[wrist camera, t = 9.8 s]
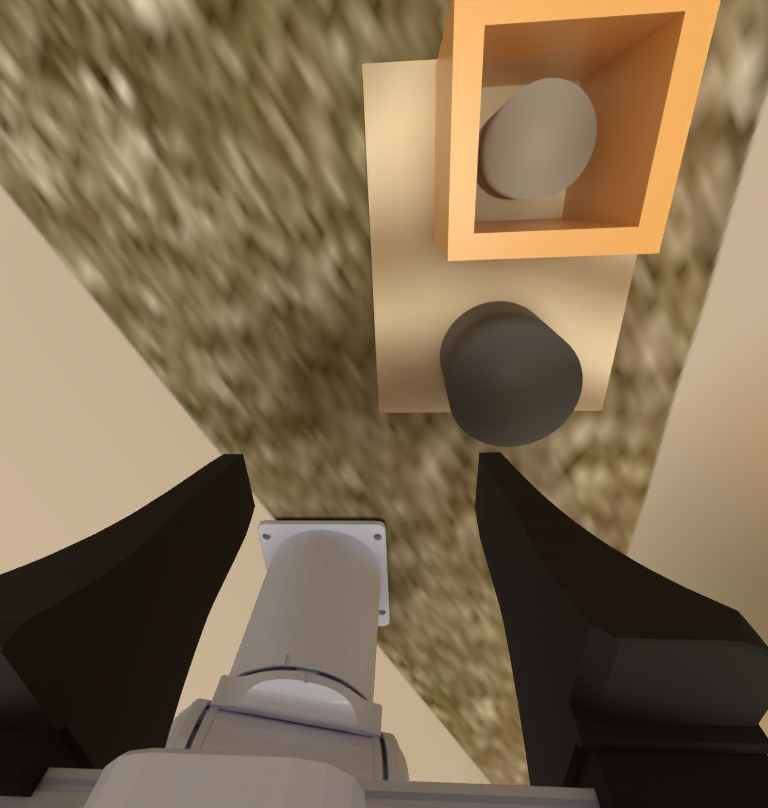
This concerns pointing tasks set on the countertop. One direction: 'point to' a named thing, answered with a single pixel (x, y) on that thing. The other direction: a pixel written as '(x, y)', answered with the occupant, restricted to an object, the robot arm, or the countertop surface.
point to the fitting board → (486, 263)
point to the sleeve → (613, 104)
